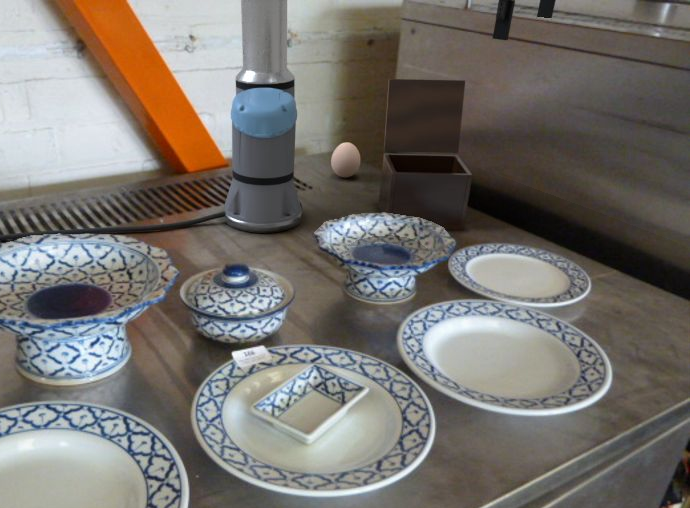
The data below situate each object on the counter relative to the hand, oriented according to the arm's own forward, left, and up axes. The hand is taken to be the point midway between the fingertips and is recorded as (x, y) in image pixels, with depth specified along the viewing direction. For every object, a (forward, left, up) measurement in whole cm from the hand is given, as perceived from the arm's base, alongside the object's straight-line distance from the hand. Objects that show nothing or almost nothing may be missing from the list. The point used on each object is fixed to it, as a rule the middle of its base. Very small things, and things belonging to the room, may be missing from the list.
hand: (520, 36), depth 123 cm
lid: (-17, -3, -14) cm, 22 cm away
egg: (-30, +13, -32) cm, 46 cm away
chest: (-17, -11, -32) cm, 38 cm away
